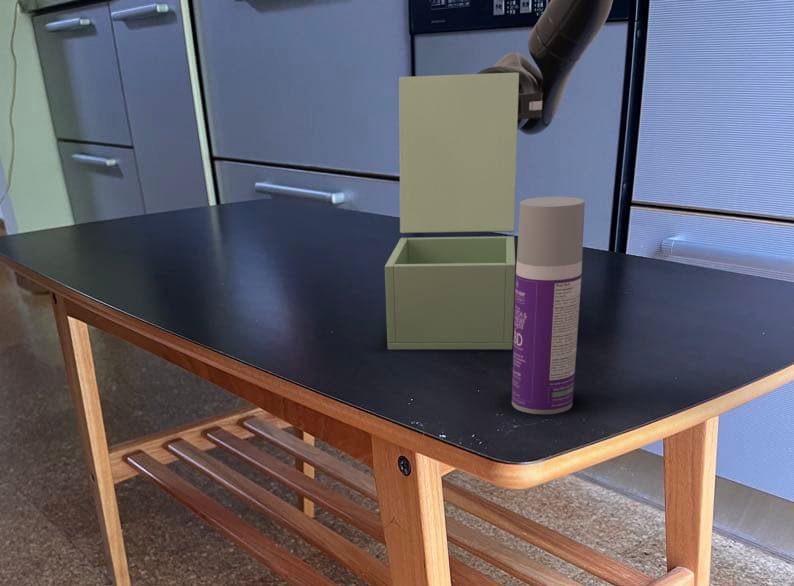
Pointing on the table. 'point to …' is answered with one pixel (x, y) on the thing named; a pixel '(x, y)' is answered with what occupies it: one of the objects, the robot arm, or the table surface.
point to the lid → (458, 152)
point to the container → (547, 303)
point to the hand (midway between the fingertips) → (469, 111)
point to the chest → (451, 293)
